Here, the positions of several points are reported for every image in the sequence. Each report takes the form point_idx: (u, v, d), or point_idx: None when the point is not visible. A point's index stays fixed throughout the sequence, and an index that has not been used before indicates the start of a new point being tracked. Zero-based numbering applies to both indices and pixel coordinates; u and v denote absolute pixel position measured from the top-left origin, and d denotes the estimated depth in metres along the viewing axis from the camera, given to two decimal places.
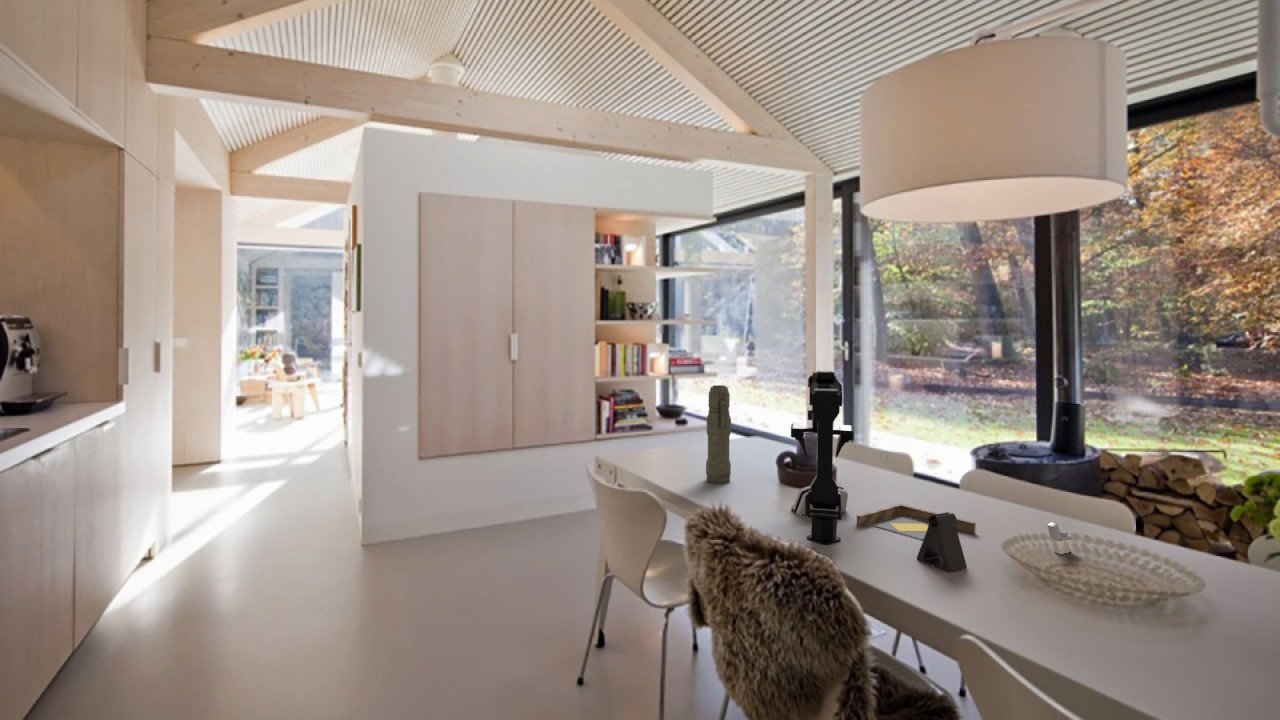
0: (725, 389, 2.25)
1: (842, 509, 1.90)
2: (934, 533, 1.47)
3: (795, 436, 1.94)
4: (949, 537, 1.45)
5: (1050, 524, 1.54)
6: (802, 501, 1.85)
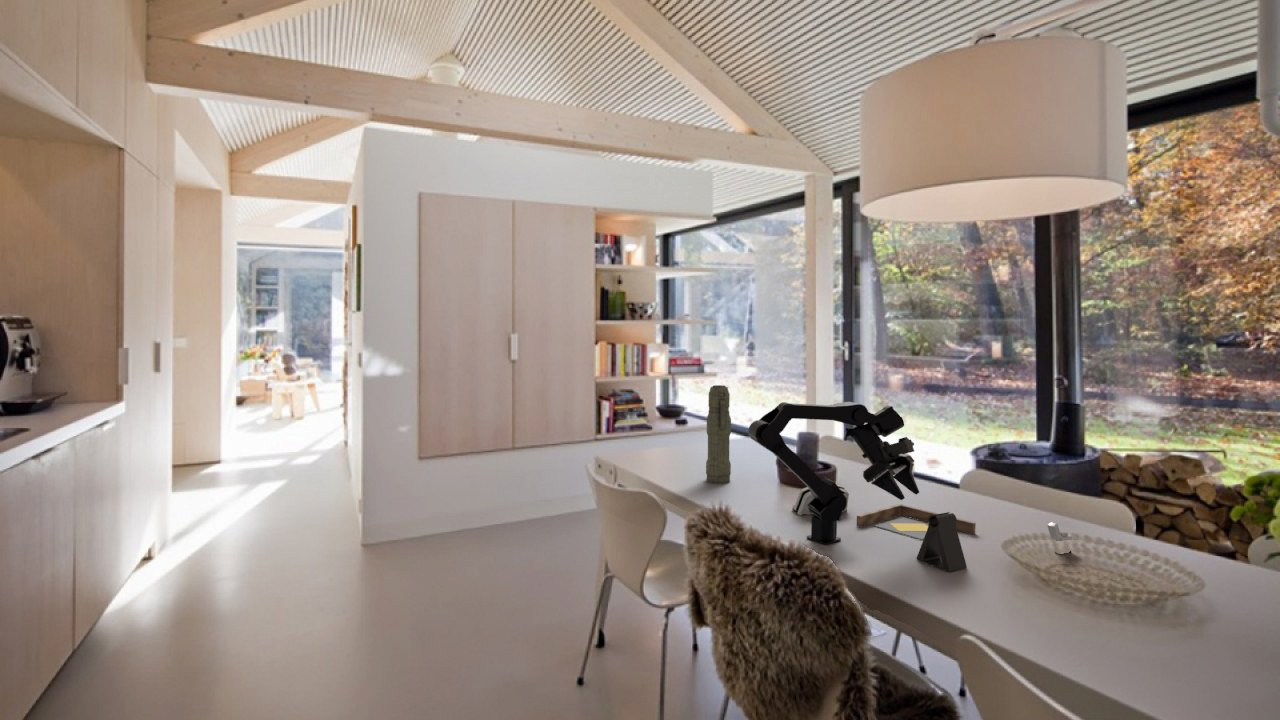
0: (725, 389, 2.25)
1: None
2: (934, 533, 1.47)
3: None
4: (949, 537, 1.45)
5: (1050, 524, 1.54)
6: (803, 501, 1.85)
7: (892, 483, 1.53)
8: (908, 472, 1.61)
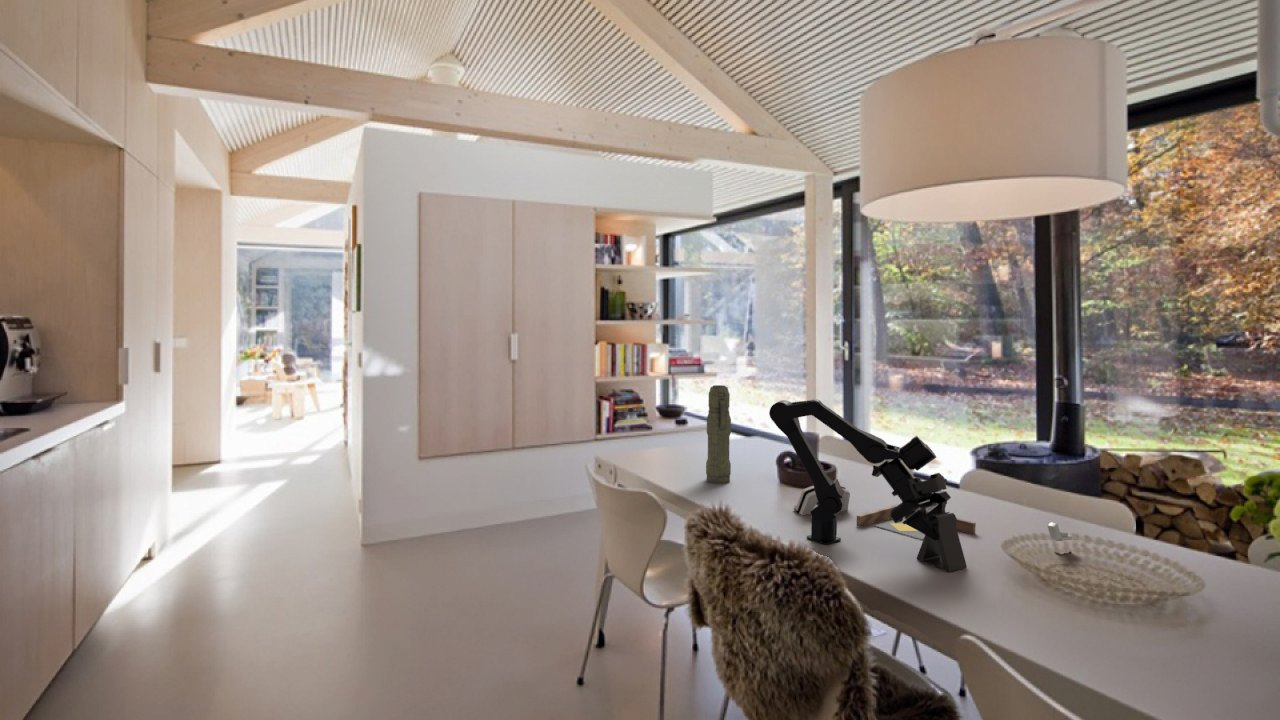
0: (725, 389, 2.25)
1: (844, 509, 1.91)
2: None
3: None
4: (949, 537, 1.45)
5: (1050, 524, 1.54)
6: (805, 501, 1.85)
7: (925, 523, 1.46)
8: (941, 510, 1.51)
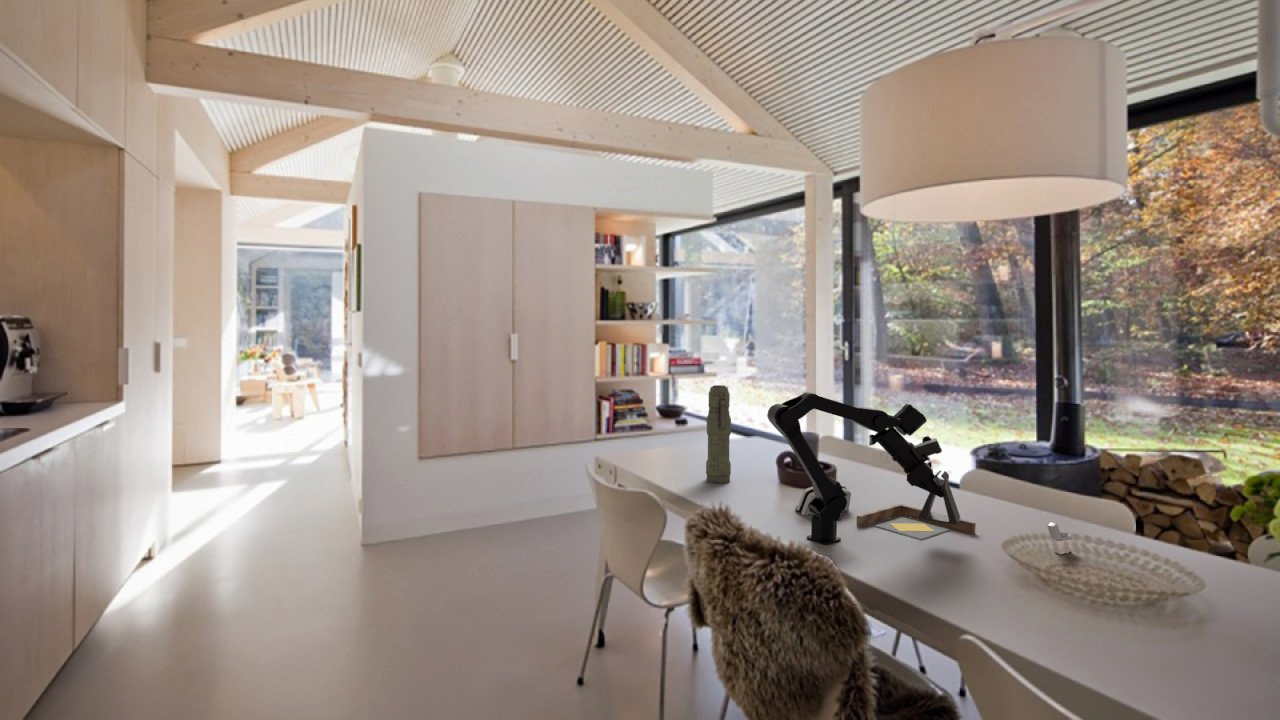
0: (725, 389, 2.25)
1: (845, 508, 1.91)
2: None
3: None
4: (949, 493, 1.59)
5: (1050, 524, 1.54)
6: (807, 501, 1.85)
7: (933, 482, 1.57)
8: None
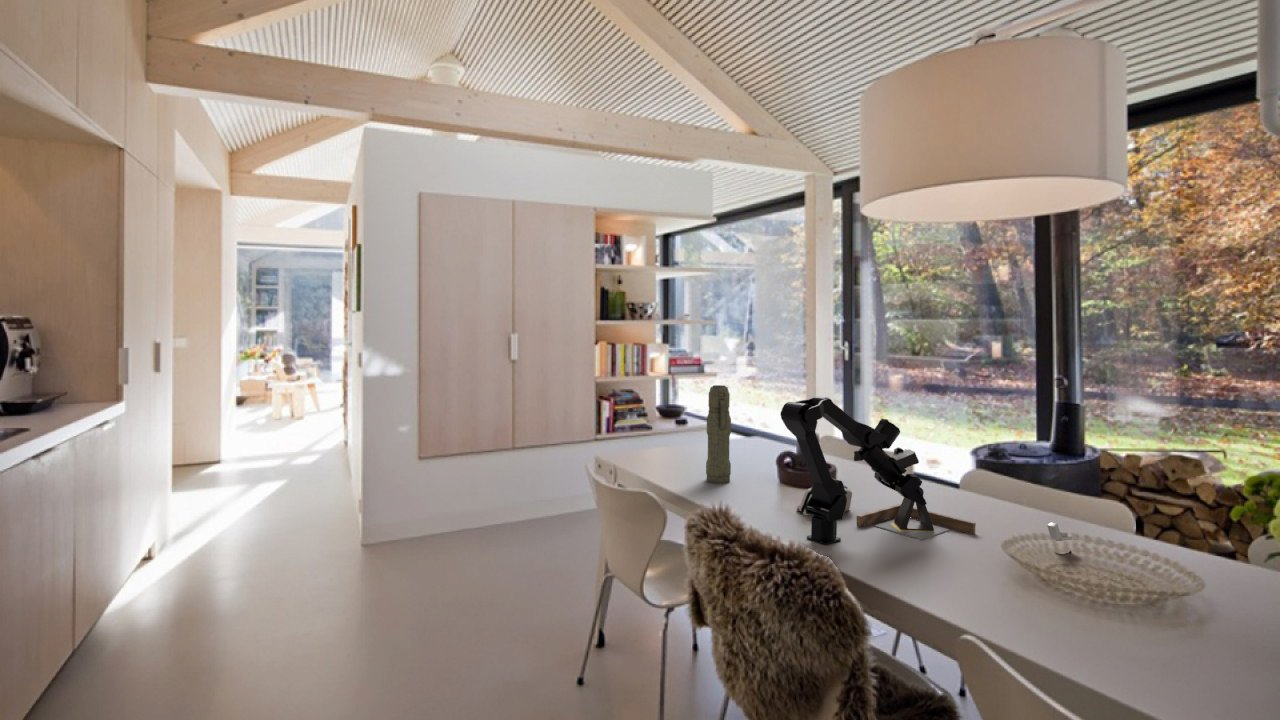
0: (725, 389, 2.25)
1: (846, 508, 1.91)
2: None
3: (878, 481, 1.81)
4: None
5: (1050, 524, 1.54)
6: None
7: (919, 493, 1.68)
8: None
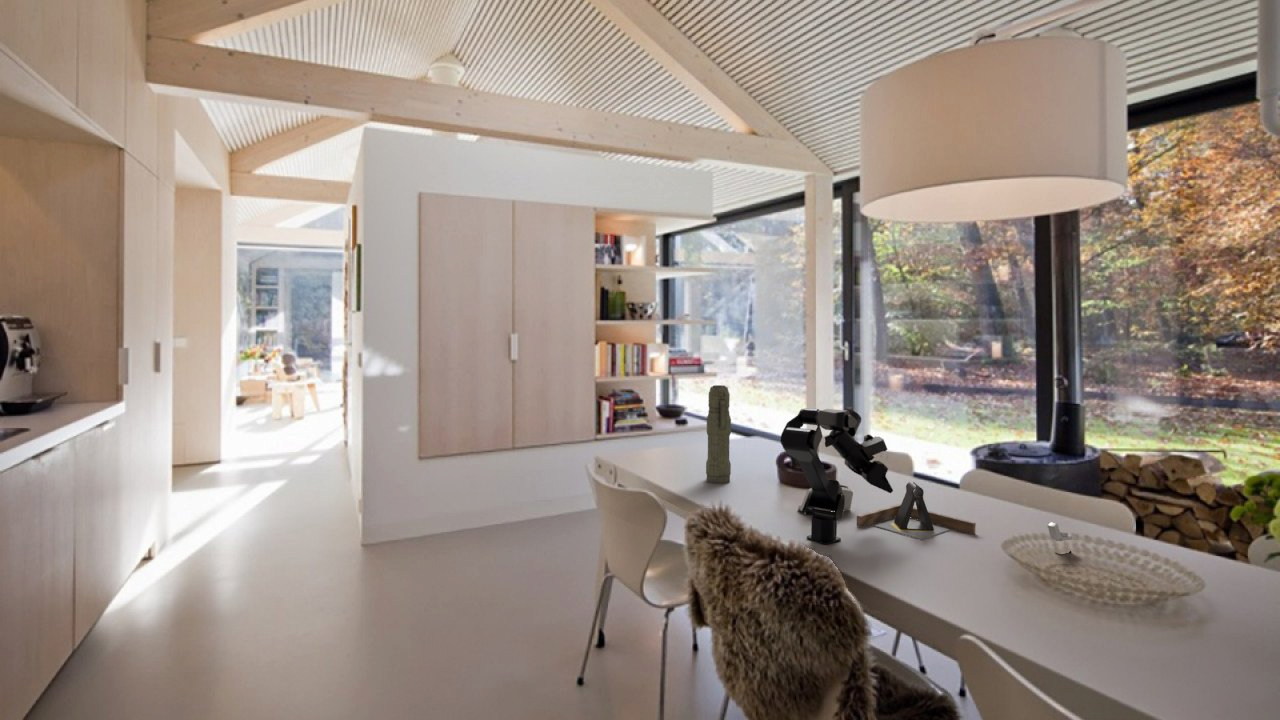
0: (725, 389, 2.25)
1: (847, 508, 1.92)
2: None
3: (848, 467, 1.81)
4: None
5: (1050, 524, 1.54)
6: None
7: (885, 480, 1.67)
8: None
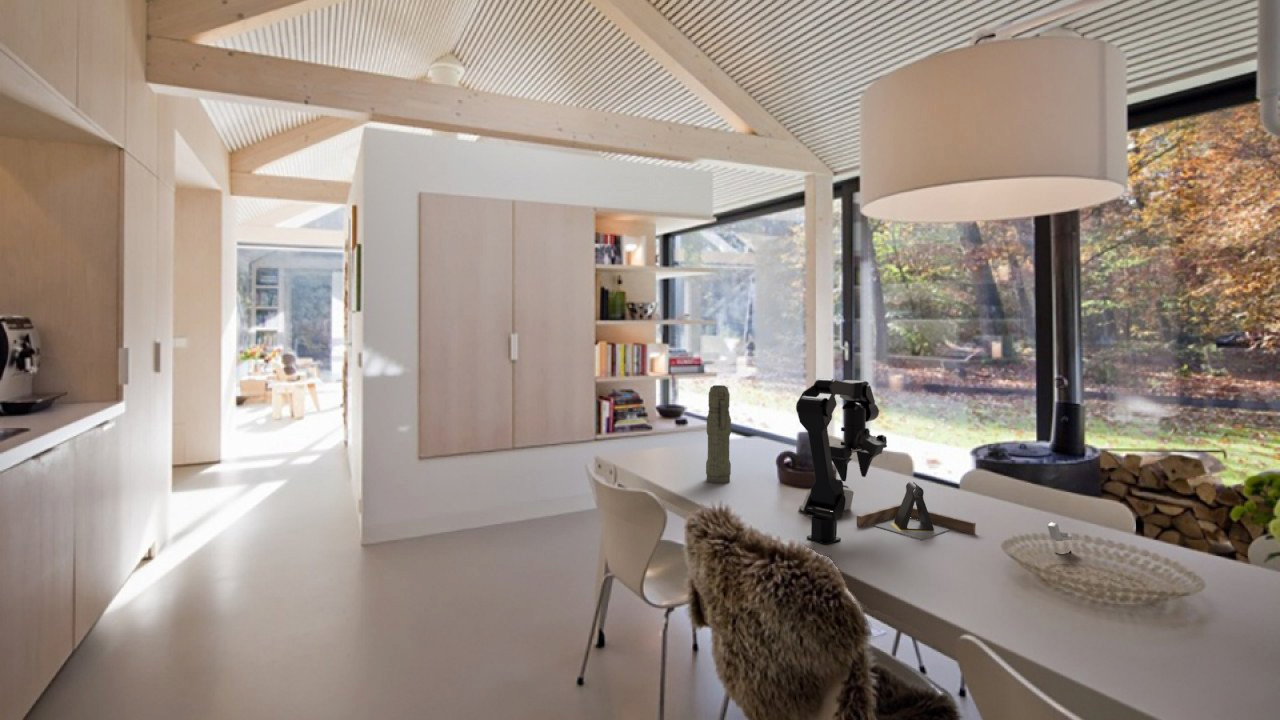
0: (725, 389, 2.25)
1: (847, 508, 1.92)
2: None
3: None
4: None
5: (1050, 524, 1.54)
6: None
7: (843, 467, 1.73)
8: (869, 458, 1.79)
